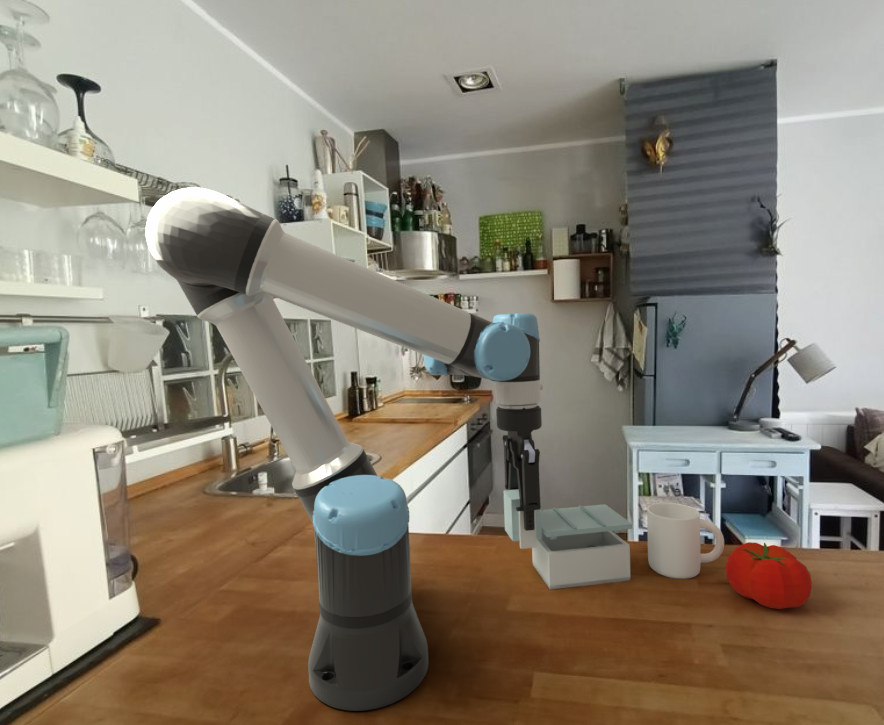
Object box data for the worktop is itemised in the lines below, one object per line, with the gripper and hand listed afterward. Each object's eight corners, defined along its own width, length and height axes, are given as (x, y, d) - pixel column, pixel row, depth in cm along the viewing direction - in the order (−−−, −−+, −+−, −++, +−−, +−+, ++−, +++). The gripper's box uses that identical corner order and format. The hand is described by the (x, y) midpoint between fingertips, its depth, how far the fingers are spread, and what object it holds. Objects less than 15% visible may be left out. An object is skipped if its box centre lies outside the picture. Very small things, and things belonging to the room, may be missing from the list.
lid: (632, 535, 81) (631, 494, 81) (516, 547, 78) (515, 504, 78) (605, 514, 91) (604, 477, 90) (501, 524, 88) (500, 486, 88)
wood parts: (609, 573, 83) (608, 556, 83) (579, 576, 82) (579, 559, 82) (596, 560, 88) (595, 543, 88) (568, 563, 87) (567, 546, 87)
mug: (718, 562, 87) (718, 505, 86) (731, 585, 79) (730, 522, 78) (646, 555, 90) (644, 501, 90) (650, 577, 82) (649, 517, 82)
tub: (630, 580, 82) (629, 545, 81) (550, 589, 80) (548, 553, 80) (605, 556, 91) (604, 525, 90) (532, 564, 89) (531, 532, 88)
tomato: (725, 576, 82) (725, 532, 81) (807, 590, 76) (806, 544, 76) (725, 607, 73) (724, 558, 72) (817, 627, 67) (817, 574, 67)
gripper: (559, 411, 74) (564, 561, 75) (524, 397, 92) (528, 519, 93) (511, 414, 73) (516, 566, 74) (484, 400, 91) (489, 522, 92)
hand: (523, 540), depth 84 cm, fingers closed on lid, 5 cm apart
